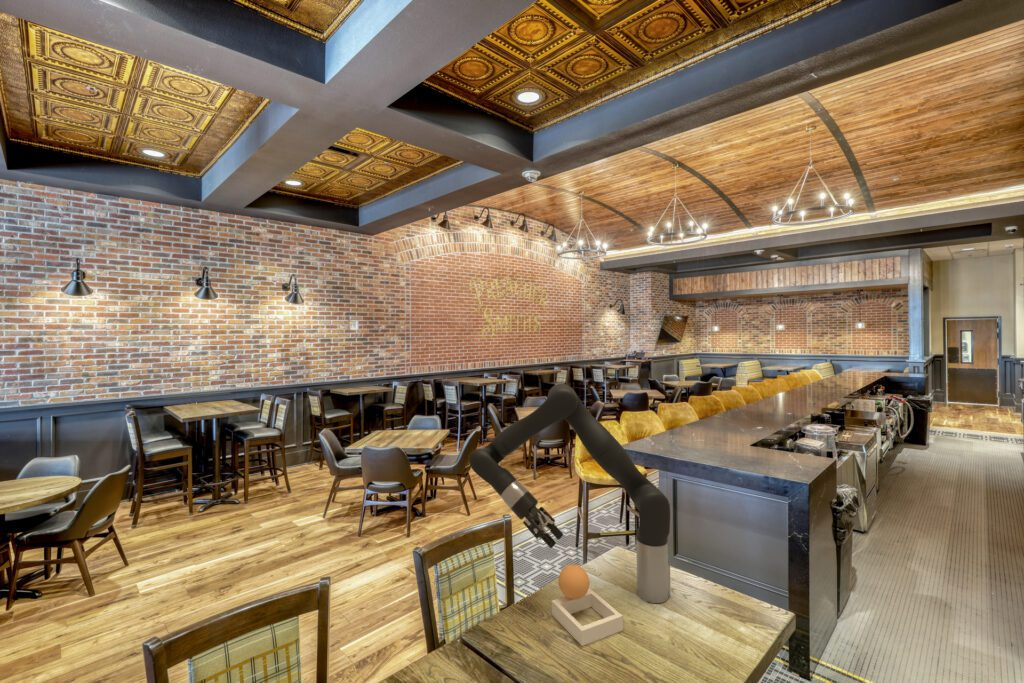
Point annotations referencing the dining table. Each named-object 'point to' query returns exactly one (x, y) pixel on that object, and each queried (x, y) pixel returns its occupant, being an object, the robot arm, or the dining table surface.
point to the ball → (573, 581)
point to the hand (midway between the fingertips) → (557, 541)
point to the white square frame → (594, 630)
